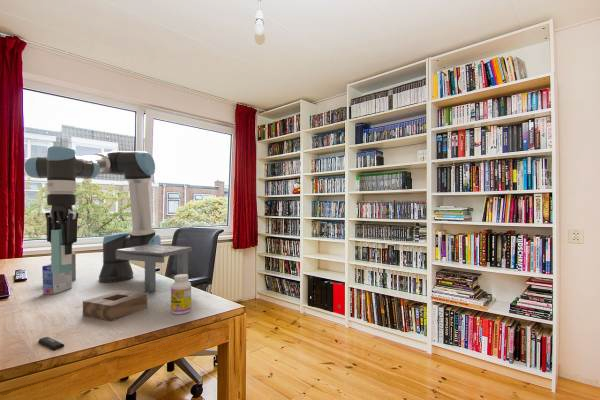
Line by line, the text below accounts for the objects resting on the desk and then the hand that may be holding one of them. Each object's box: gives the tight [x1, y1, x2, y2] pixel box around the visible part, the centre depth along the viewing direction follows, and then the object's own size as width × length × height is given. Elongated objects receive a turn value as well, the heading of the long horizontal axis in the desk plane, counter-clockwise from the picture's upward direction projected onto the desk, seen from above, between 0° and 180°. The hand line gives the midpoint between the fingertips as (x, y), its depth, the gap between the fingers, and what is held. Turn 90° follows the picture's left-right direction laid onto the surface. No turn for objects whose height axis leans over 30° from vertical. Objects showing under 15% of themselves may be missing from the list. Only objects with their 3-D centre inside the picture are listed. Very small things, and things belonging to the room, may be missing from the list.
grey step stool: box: [116, 244, 193, 293], centre depth 125 cm, size 24×16×20 cm, turn 69°
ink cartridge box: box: [41, 263, 73, 295], centre depth 135 cm, size 10×6×14 cm, turn 174°
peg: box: [50, 229, 72, 274], centre depth 102 cm, size 4×4×14 cm
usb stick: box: [37, 336, 65, 351], centre depth 83 cm, size 10×3×2 cm, turn 61°
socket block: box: [82, 289, 148, 322], centre depth 109 cm, size 14×14×5 cm
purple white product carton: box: [72, 251, 77, 282], centre depth 152 cm, size 10×10×15 cm
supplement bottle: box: [170, 274, 192, 316], centre depth 108 cm, size 7×7×13 cm
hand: (61, 263), depth 102 cm, fingers closed on peg, 4 cm apart
